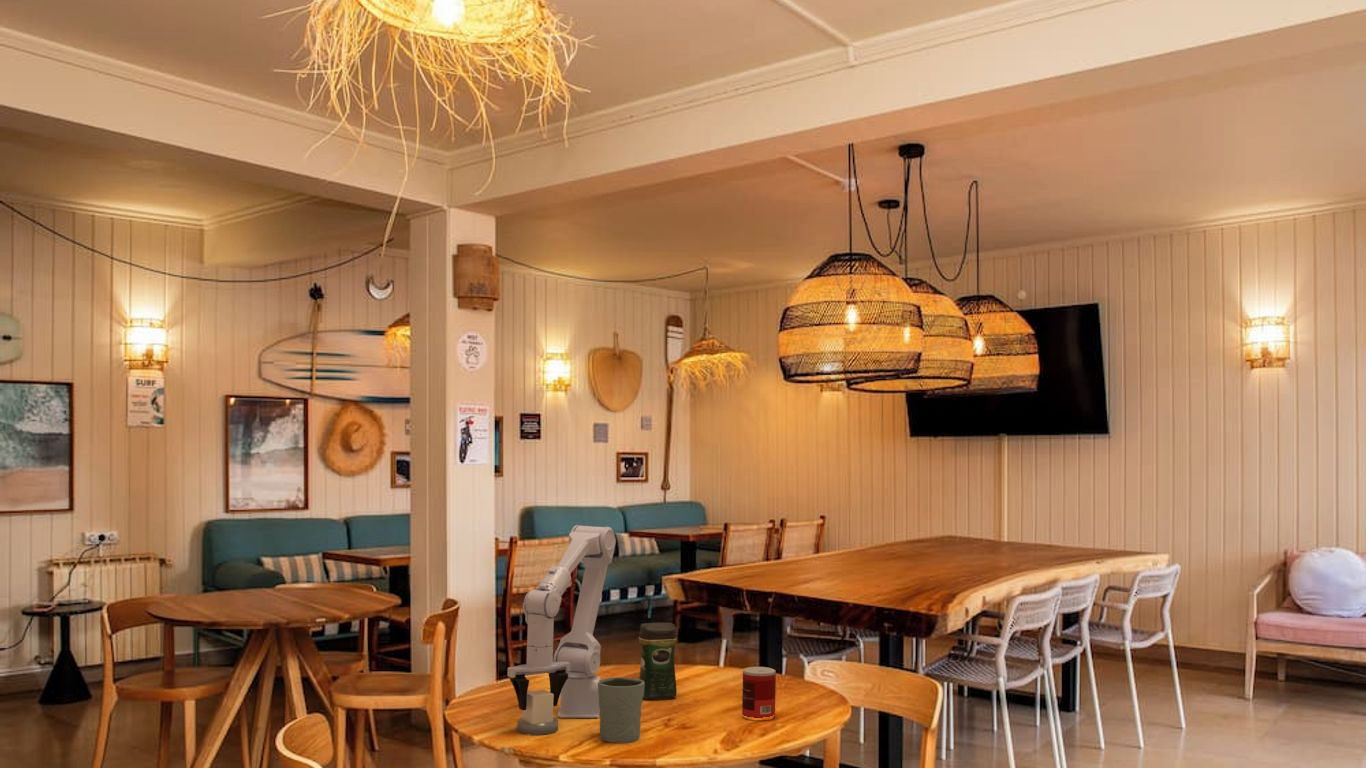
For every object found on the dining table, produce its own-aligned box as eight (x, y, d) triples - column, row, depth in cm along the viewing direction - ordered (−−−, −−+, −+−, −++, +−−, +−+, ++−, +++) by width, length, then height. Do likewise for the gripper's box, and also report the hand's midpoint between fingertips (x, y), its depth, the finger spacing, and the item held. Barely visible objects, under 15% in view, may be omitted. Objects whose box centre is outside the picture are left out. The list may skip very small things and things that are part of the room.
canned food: (779, 715, 252) (780, 668, 253) (767, 723, 245) (768, 674, 246) (749, 711, 255) (750, 665, 256) (737, 718, 248) (737, 671, 249)
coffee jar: (670, 692, 274) (672, 619, 275) (679, 699, 266) (681, 624, 267) (634, 694, 271) (636, 620, 272) (641, 701, 263) (643, 625, 264)
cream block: (542, 716, 238) (543, 689, 239) (552, 721, 234) (553, 693, 235) (522, 719, 235) (523, 691, 236) (532, 724, 231) (533, 696, 232)
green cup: (605, 745, 223) (606, 687, 224) (589, 733, 232) (591, 678, 233) (650, 741, 227) (651, 684, 228) (633, 729, 237) (634, 675, 237)
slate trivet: (558, 724, 239) (559, 715, 239) (557, 735, 230) (557, 725, 230) (518, 724, 239) (518, 715, 239) (515, 735, 230) (515, 725, 230)
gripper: (560, 639, 243) (558, 699, 242) (502, 644, 235) (500, 707, 234) (575, 644, 237) (573, 706, 236) (516, 650, 229) (514, 714, 228)
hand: (538, 707), depth 235 cm, fingers open, 7 cm apart
